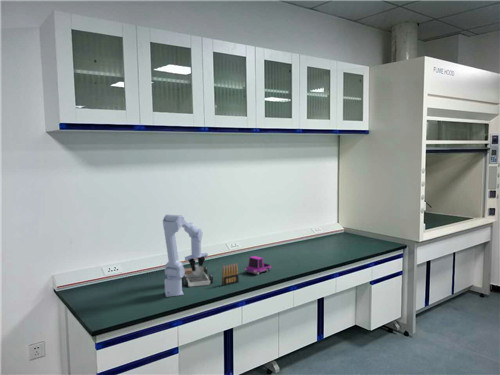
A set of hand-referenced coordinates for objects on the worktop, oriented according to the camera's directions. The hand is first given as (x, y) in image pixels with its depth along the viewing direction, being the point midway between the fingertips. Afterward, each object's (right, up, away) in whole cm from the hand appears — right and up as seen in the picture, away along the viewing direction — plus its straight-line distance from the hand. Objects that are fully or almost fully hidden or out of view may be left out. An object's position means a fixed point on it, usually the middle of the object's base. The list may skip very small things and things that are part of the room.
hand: (196, 270), depth 246 cm
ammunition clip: (+20, -7, -4) cm, 22 cm away
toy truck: (+38, -5, +18) cm, 42 cm away
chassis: (-1, -7, +4) cm, 8 cm away
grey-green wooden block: (0, -2, 0) cm, 2 cm away
